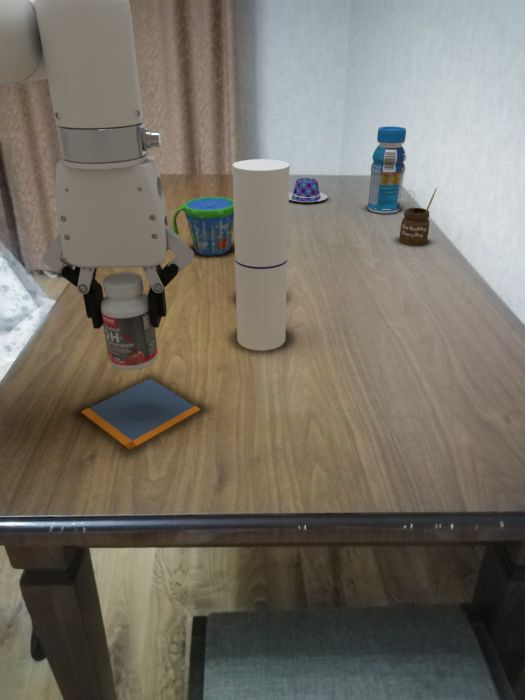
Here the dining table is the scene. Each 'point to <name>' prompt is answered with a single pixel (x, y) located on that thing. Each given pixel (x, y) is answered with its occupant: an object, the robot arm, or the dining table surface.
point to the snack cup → (209, 224)
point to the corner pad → (140, 413)
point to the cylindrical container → (261, 251)
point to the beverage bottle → (387, 170)
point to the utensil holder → (415, 225)
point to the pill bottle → (127, 322)
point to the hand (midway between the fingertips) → (128, 320)
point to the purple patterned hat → (306, 191)
